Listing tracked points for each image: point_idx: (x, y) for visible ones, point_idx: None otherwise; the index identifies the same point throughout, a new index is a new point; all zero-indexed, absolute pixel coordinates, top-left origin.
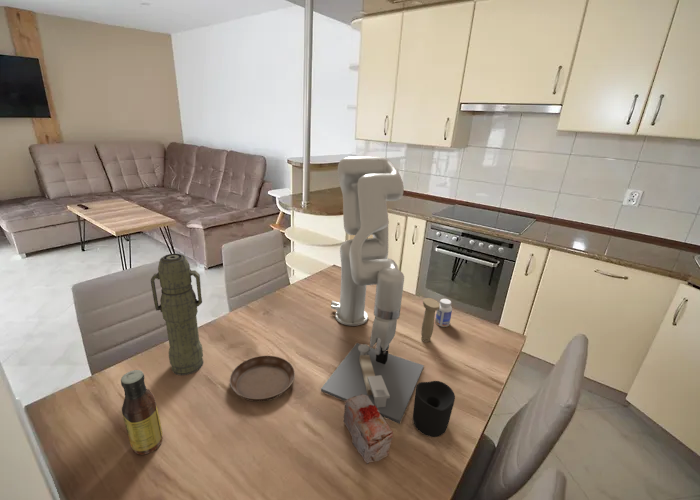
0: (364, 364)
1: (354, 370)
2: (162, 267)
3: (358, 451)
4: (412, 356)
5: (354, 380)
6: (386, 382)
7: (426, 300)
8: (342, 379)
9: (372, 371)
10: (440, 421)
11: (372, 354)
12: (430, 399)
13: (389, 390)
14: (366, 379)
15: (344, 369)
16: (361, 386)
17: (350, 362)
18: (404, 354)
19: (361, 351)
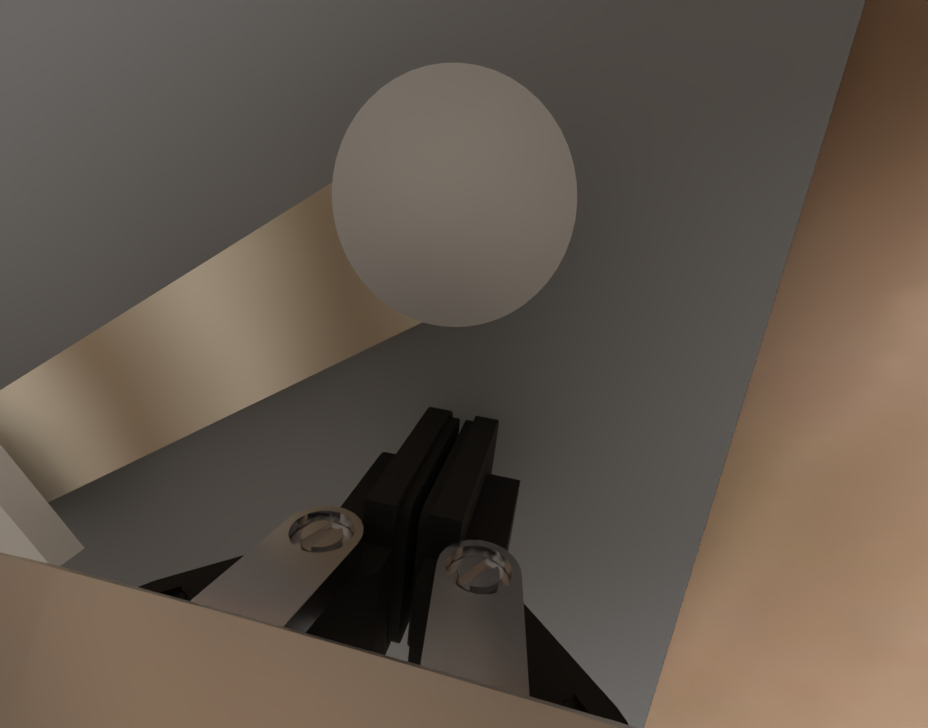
0: (210, 303)
1: (205, 174)
2: None
3: None
4: (777, 722)
5: (79, 232)
6: (227, 534)
7: None
8: (11, 89)
9: (160, 428)
10: None
11: (611, 311)
12: None
13: (162, 563)
14: (20, 391)
15: (153, 32)
16: (57, 327)
17: (311, 53)
18: (793, 651)
19: (343, 185)
